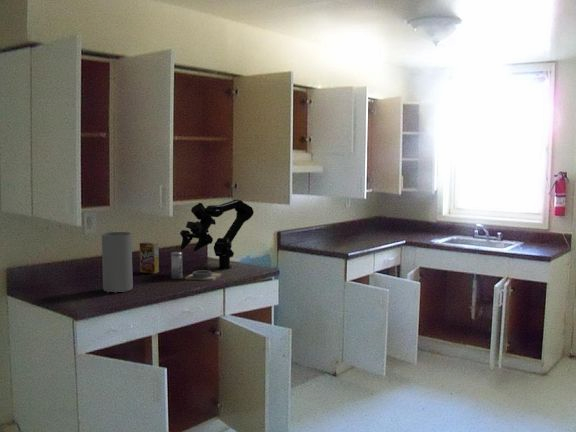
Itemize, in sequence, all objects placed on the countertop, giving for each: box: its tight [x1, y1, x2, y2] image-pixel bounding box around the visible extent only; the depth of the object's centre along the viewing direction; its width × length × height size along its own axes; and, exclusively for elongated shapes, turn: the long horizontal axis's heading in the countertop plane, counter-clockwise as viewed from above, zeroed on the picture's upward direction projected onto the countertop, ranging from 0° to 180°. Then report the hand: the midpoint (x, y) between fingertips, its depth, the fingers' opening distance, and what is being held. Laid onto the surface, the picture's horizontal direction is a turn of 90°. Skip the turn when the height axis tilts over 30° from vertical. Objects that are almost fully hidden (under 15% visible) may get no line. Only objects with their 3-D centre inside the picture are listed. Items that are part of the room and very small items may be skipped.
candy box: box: [139, 241, 160, 274], centre depth 296 cm, size 9×4×15 cm, turn 69°
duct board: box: [184, 272, 223, 282], centre depth 286 cm, size 14×14×1 cm
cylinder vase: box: [101, 231, 134, 294], centre depth 256 cm, size 12×12×25 cm
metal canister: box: [170, 251, 184, 280], centre depth 283 cm, size 6×6×12 cm
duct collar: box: [192, 269, 213, 278], centre depth 283 cm, size 9×9×2 cm
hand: (187, 249), depth 288 cm, fingers open, 9 cm apart
